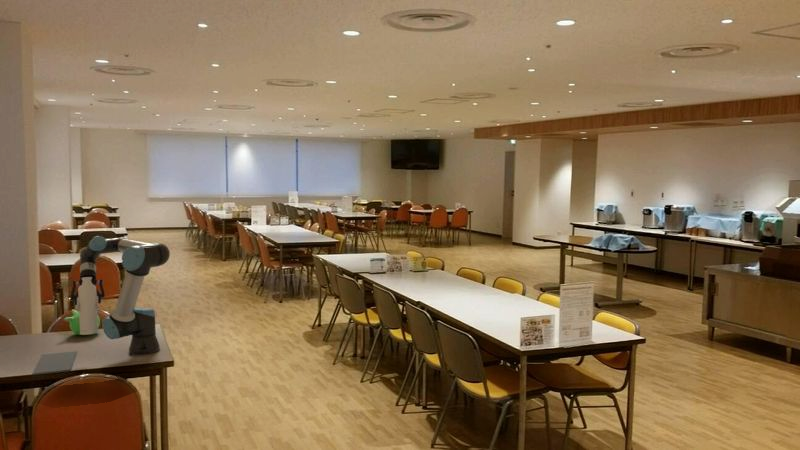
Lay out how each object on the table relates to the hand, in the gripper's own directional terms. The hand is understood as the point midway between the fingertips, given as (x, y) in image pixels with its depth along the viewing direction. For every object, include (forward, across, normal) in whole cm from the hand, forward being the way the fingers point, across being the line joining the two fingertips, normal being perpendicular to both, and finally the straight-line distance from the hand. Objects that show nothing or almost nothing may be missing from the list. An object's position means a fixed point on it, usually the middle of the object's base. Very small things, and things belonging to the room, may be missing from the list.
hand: (87, 308), depth 309 cm
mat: (+15, +15, -22) cm, 31 cm away
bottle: (+7, 0, -11) cm, 13 cm away
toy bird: (-24, +5, -60) cm, 65 cm away
